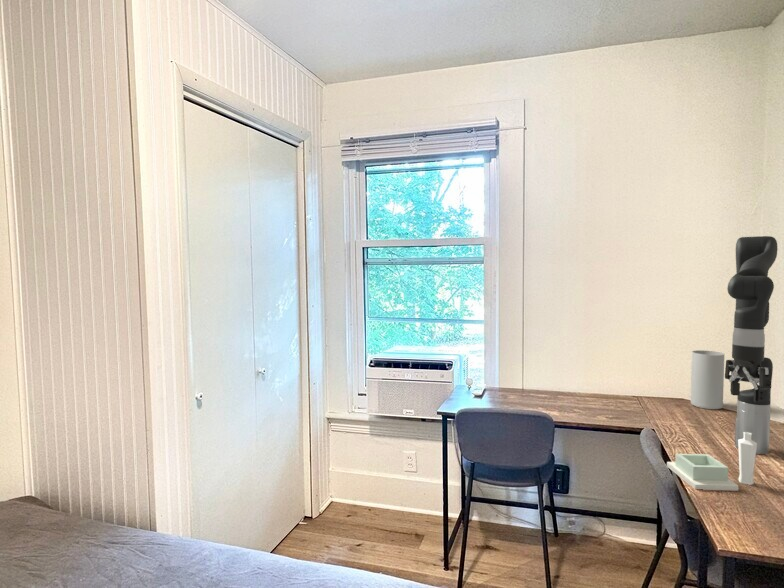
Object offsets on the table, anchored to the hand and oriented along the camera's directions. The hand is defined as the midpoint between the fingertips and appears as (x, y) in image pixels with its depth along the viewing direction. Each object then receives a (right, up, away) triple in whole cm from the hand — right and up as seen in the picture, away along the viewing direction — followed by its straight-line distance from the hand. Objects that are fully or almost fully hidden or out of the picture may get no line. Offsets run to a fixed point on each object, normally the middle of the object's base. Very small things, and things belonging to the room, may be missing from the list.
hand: (746, 398), depth 136 cm
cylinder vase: (+42, -22, +80) cm, 93 cm away
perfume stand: (-9, -26, +6) cm, 28 cm away
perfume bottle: (+3, -26, +4) cm, 26 cm away
